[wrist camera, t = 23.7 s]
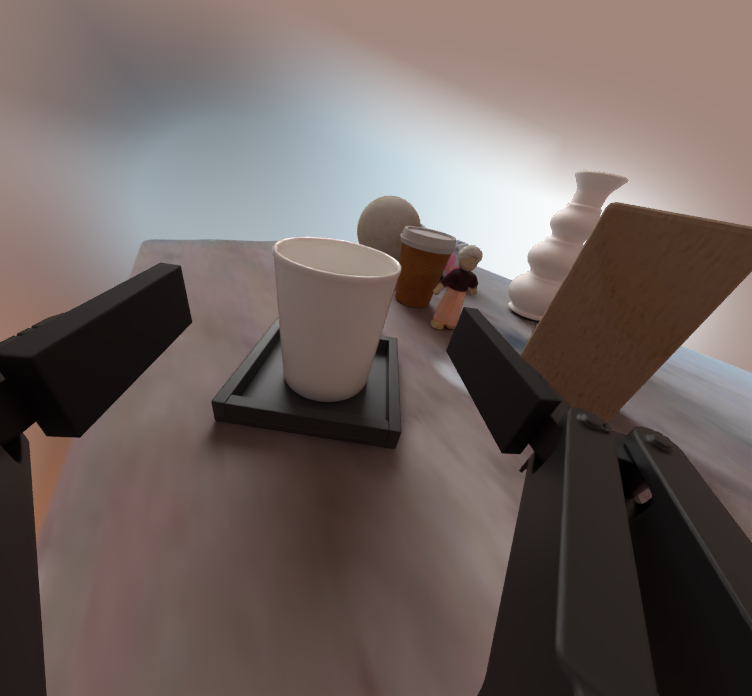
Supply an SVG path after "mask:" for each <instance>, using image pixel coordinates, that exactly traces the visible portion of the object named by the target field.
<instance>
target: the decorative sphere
mask: <svg viewBox="0 0 752 696" xmlns="http://www.w3.org/2000/svg"><path fill="white" fill-rule="evenodd" d="M406 226H414V227H421V223H420V219H419V216H418V214H417V212H416V210H415V209H414V208H413V206H412V205H411V204H410V203H408V202H407V201H406V200H404V199H402V198H400V197H396V196H384V197H380V198H378V199H376V200H374V201H372V202H371V203H370V204H369V205H368V206H367V207H366V208H365V209H364V211H363V212H362V214H361V216H360V219H359V222H358V228H357V235H358V241H359V244H360V245H364V246H367V247H370V248H373V249H376V250H379V251H381V252H383V253H385V254H387V255H389V256H391V257H393V258H394V259H395V260H397V261H398V262H399V261H400V252H401V237H400V234H402V233H403V230H404V228H405V227H406Z"/></svg>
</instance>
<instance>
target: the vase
mask: <svg viewBox="0 0 752 696" xmlns="http://www.w3.org/2000/svg"><path fill="white" fill-rule="evenodd" d="M575 176H576V182H577V191H576V193H575V195H574V197H573V199H572V201H571V203H568V204H567V206H566V207H565V208H564V209H563V210H561V211H559V212H557V213H556V214H555V215H554V216H553V217H552V219H551V222H550V226H551V229H552V235H551V236H550V237H547V238H546V239H545V240H544V241H542V242H540V243H538V244H536V245H535V246H533V247H532V248H531V250H530V251H529V253H528V263H529V265H530V267H531V270H530V271H528V272H526V273H524V274H521V275H519V276H518V277H516V278H515V279H514V280H513V281H512V282H511V284H510V286H509V291H508V292H509V297H510V299H511V301H512V302H510V303H509V304H508V306H509V308H510V309H511V310H512V311H514V312H515V313H517V314H519V315H521V316H523V317H525V318H528V319H532V320H536V321H540V320H541V318H542V316H543V315H544V313H545V311H546V309H547V308H548V306H549V304H550V303H551V301H552V299H553V297H554V296H555V294H556V292H557V291H558V289H559V287H560V285H561V284H562V282H563V280H564V279H565V277H566V275H567V273H568V272H569V270H570V268H571V267H572V265H573V263H574V261H575V260H576V258H577V256H578V255H579V253H580V251H581V249H582V248H583V246H584V245H583V243H584V242H585V241H586V240H587V239H588V237H589V236H590V234H591V232H592V231H593V229H594V227H595V225H596V224H597V222H598V220H599V219H600V214H601V211H602V210H601V207H602V205H603V203H604V202H605V200H606V198H607V197H608V196H609V194H611V193H612V192H613V191H615V190H616V189H618V188H619V187H621V186H622V185H624V184H625V183H627V182H628V179H627V178H625V177H623V176H619V175H615V174H611V173H605V172H598V171H587V170H585V171H584V170H583V171H577V172H576V173H575Z"/></svg>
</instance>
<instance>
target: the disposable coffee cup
mask: <svg viewBox="0 0 752 696" xmlns="http://www.w3.org/2000/svg"><path fill="white" fill-rule="evenodd" d="M400 237H401V252H400V261H399V264H400V265H401V274H400V276H399V278H398V281H397V288H396V296H395V297H396V299H397V300H398V301H399V302H401V303H402V304H405V305H407V306H411V307H417V308H422V307H426V306H428V304H429V302H430V300H431V297H432V295H433V290H434V289H435V288H436V287H437V284H438V282H439V280H440V278H441V276H442V274H443V271H444V269H445V267H446V265H447V263H448V260H449V259H450V256H451V254H452V253H453V252H454V250H456V248H457V247H456V238H455V237H453V236H451V235H448V234H445V233H442V232H439V231H435V230H431V229H427V228H421V227H414V226H406V227H405V228H404V230H403V233H402V234H400Z"/></svg>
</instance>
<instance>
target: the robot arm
mask: <svg viewBox="0 0 752 696" xmlns="http://www.w3.org/2000/svg"><path fill="white" fill-rule="evenodd" d="M191 323H192V319H191V314H190V309H189V304H188V299H187V294H186V289H185V284H184V279H183V274H182V269H181V266H179V265H173V264H166V263H159V264H157V265H155V266H153V267H151V268H150V269H148V270H146V271H144V272H142V273H140V274H138V275H136V276H134V277H133V278H131V279H129V280H127V281H125V282H123V283H121V284H119V285H117V286H116V287H114V288H112V289H110V290H108V291H106V292H104V293H102V294H100V295H99V296H97V297H95V298H93V299H91V300H89V301H87V302H85V303H83V304H81V305H80V306H78V307H76V308H74V309H72V310H70V311H68V312H65V313H62V314H59V315H56V316H52V317H49V318H47V319H45V320H43V321H41V322H39V323H37V324H35V325H33V326H32V328H27V329H25V330H23V331H22V332H19V333H18V334H17V336H12V337H10V338H8V339H6V340H4V341H2V342H0V696H47V694H46V679H45V665H44V650H43V636H42V621H41V607H40V593H39V578H38V564H37V549H36V535H35V521H34V506H33V492H32V477H31V463H30V449H29V441H28V439H27V438H26V436H25V435H24V434H23V432H24V431H25V430H26V429H27V428H28V427H30V426H31V425H32V424H33V423H35V422H37V424H38V425H39V426H40V428H41V429H42V430H43V432H44V433H45V435H46V436H53V437H78V438H80V437H81V436H82V435H83V434H84V433H85V432H86V431H87V430H88V429H89V428H90V427H91V426H92V425H93V424H94V423H95V422H96V421H97V420H98V419H99V418H100V417H101V416H102V414H103V413H104V412H105V411H106V410H107V409H108V408H109V407H110V406H111V405H112V404H113V403H114V402H115V401H116V400H117V399H118V398H119V397H120V396H121V395H122V394H123V393H124V392H125V391H126V390H127V389H128V388H129V387H130V386H131V385H132V384H133V383H134V382H135V381H136V380H137V379H138V378H139V376H140V375H141V374H142V373H143V372H144V371H145V370H146V369H147V368H148V367H149V366H150V365H151V364H152V363H153V362H154V361H155V360H156V359H157V358H158V357H159V356H160V355H161V354H162V353H163V352H164V351H165V350H166V349H167V348H168V347H169V346H170V345H171V344H172V343H173V342H174V341H175V340H176V338H177V337H178V336H179V335H180V334H181V333H182V332H183V331H184V330H185V329H186V328H187V327H188V326H189V325H190V324H191ZM446 352H447V353H448V355H449V357H450V359H451V361H452V363H453V364H454V366H455V368H456V370H457V372H458V374H459V375H460V377H461V379H462V381H463V383H464V385H465V386H466V388H467V390H468V392H469V394H470V396H471V397H472V399H473V401H474V403H475V405H476V407H477V408H478V410H479V412H480V414H481V416H482V418H483V420H484V421H485V423H486V425H487V427H488V429H489V431H490V432H491V434H492V436H493V438H494V440H495V442H496V443H497V445H498V447H499V449H500V451H501V453H505V454H521V453H522V451H523V450H524V449H525V447H526V446H527V445H528V444H530V446H531V447H532V449H533V450H534V453H533V454H532V455H531V456H530V457H529V459H528V460H527V461H526V462H525V463H524V465H523V466H522V467H521V469H520V470H519V471H520V472H523V471H524V470H525V469H527V472H526V477H525V482H524V487H523V492H522V497H521V502H520V507H519V512H518V517H517V522H516V527H515V532H514V537H513V542H512V547H511V552H510V557H509V562H508V567H507V572H506V577H505V582H504V587H503V592H502V597H501V602H500V607H499V612H498V617H497V622H496V627H495V632H494V637H493V642H492V647H491V652H490V657H489V662H488V667H487V672H486V676H485V680H484V683H483V685H482V688H481V690H480V692H479V693H478V695H477V696H752V543H751V541H750V540H749V539H748V537H747V536H746V535H745V534H744V532H743V531H742V530H741V528H740V527H739V526H738V524H737V523H736V522H735V520H734V519H733V518H732V516H731V515H730V514H729V512H728V511H727V510H726V508H725V507H724V506H723V504H722V503H721V502H720V501H719V499H718V498H717V497H716V495H715V494H714V493H713V491H712V490H711V489H710V487H709V486H708V485H707V483H706V482H705V481H704V479H703V478H702V477H701V475H700V474H699V473H698V471H697V470H696V469H695V467H694V466H693V465H692V464H691V462H690V461H689V460H688V458H687V457H686V456H685V454H684V453H683V452H682V451H681V450H680V449H679V447H678V446H677V445H675V444H674V443H673V442H672V441H670V439H669V438H667V437H666V436H663V434H661V433H659V432H655V431H653V430H651V429H648V428H645V427H636V428H634V429H633V430H632V431H631V432H630V433H629V434H628V435H627V436H626V435H623V434H620V433H616V432H613V431H612V430H611V428H610V427H609V426H608V425H607V423H606V422H605V421H603V420H602V419H601V418H599V417H598V416H596V415H595V414H593V413H591V412H589V411H587V410H584V409H582V408H576V407H574V408H572V407H571V406H570V405H569V404H568V403H567V402H566V401H565V400H564V399H563V398H562V396H561V395H560V394H559V393H558V392H557V391H556V390H555V389H554V388H553V387H552V386H551V385H549V383H548V382H547V380H546V379H545V378H542V377H543V376H542V375H541V374H540V373H539V372H538V371H537V370H536V369H535V368H534V367H533V366H531V365H530V364H529V363H527V362H526V361H525V360H524V359H523V358H522V357H521V356H520V355H519V354H518V353H517V352H516V351H515V350H514V348H513V347H512V346H511V345H510V344H509V343H508V342H507V341H506V340H505V339H504V338H503V337H502V335H501V334H500V333H499V332H498V331H497V330H496V329H495V328H494V327H493V326H492V325H491V323H490V322H489V321H488V320H487V319H486V318H485V317H484V316H483V315H482V314H481V313H480V311H479V310H478V309H474V308H467V307H464V308H463V310H462V312H461V315H460V317H459V320H458V322H457V325H456V327H455V330H454V332H453V335H452V337H451V340H450V342H449V345H448V347H447V350H446ZM648 487H649V489H650V491H651V493H652V498H651V499H650V500H648V501H647V502H645V503H643V504H642V503H641V502H640V500H639V498H638V495H639V494H640V493H642V492H643V491H644V490H646V489H647V488H648Z"/></svg>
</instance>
